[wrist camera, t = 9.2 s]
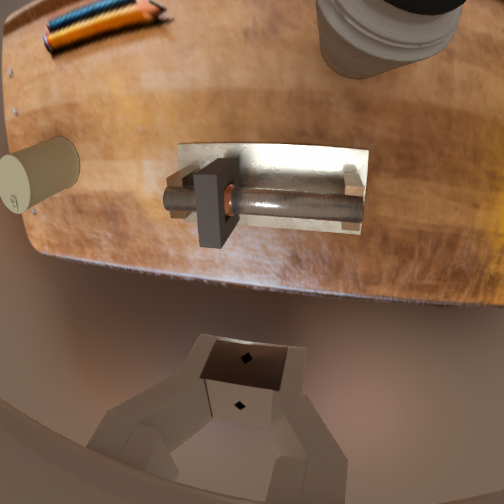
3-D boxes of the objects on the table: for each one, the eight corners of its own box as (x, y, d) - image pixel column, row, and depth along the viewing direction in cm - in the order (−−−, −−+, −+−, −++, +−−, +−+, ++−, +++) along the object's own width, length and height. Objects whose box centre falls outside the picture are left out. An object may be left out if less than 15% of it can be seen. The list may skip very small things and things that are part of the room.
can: (47, 187, 49) (-1, 213, 38) (41, 138, 44) (-11, 156, 34) (83, 189, 47) (32, 218, 37) (77, 134, 43) (22, 153, 32)
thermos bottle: (375, 13, 27) (458, -108, 3) (394, 74, 31) (532, 51, 6) (311, 24, 30) (277, -105, 6) (331, 84, 33) (349, 61, 9)
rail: (368, 149, 36) (378, 164, 29) (359, 232, 41) (365, 263, 34) (179, 143, 40) (149, 156, 33) (186, 219, 46) (161, 245, 38)
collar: (237, 157, 37) (216, 174, 30) (239, 219, 41) (221, 248, 34) (218, 157, 38) (193, 174, 31) (221, 218, 42) (199, 246, 35)
